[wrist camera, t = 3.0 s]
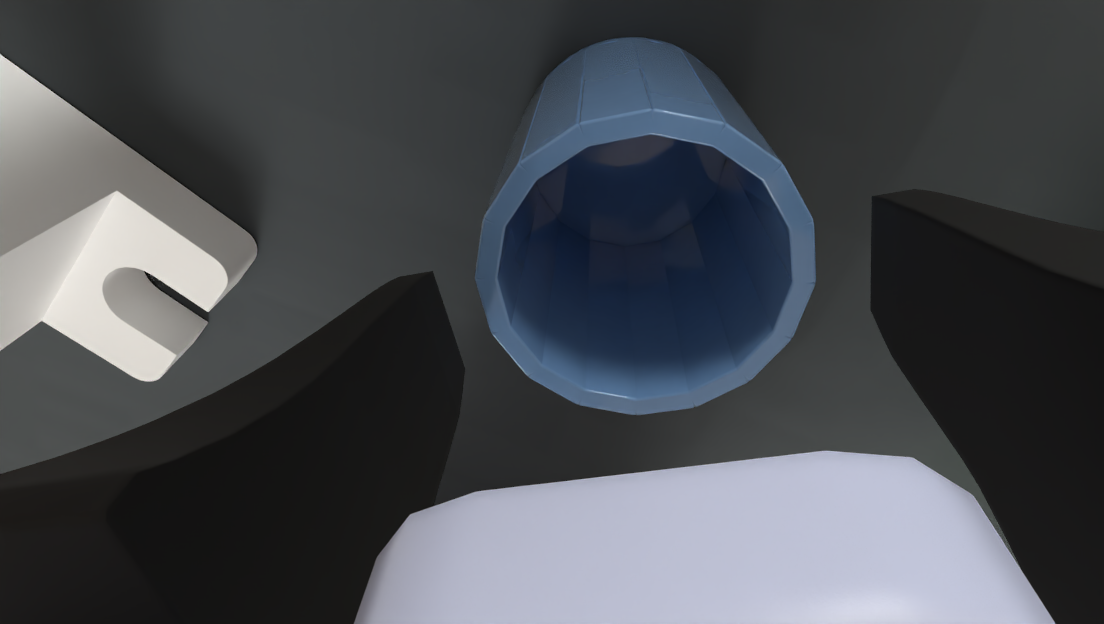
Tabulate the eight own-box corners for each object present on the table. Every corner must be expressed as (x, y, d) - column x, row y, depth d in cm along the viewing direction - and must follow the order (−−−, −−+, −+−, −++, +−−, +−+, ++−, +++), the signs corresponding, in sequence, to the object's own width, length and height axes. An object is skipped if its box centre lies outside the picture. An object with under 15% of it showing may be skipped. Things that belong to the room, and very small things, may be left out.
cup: (545, 264, 20) (519, 431, 14) (496, 63, 17) (435, 151, 11) (746, 231, 19) (820, 392, 13) (726, 13, 16) (810, 76, 10)
